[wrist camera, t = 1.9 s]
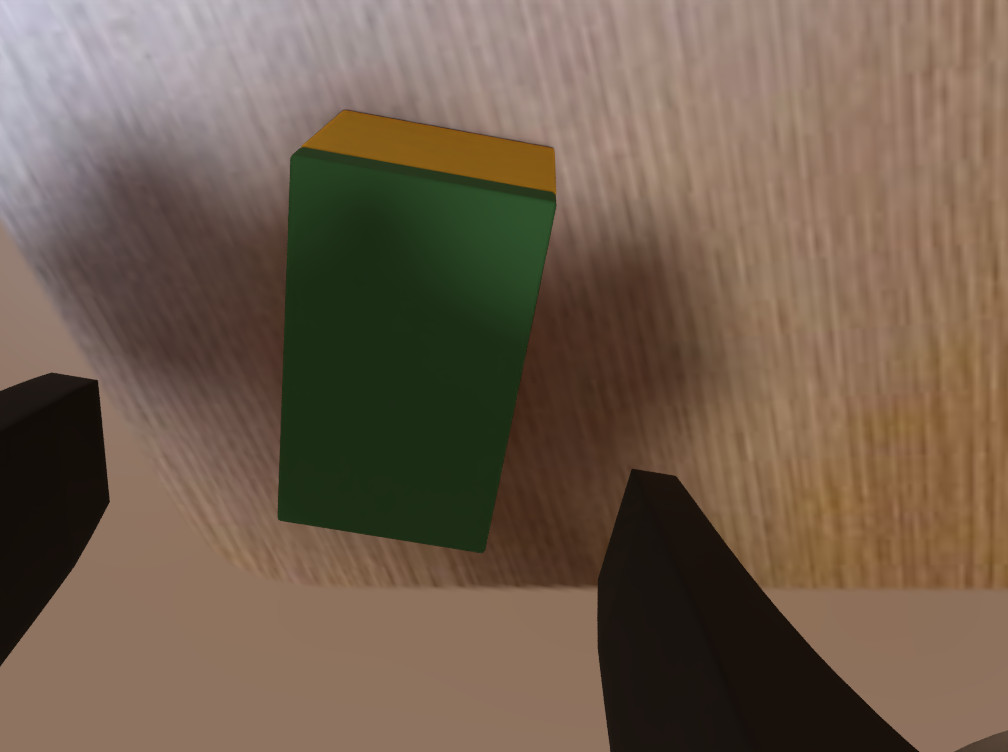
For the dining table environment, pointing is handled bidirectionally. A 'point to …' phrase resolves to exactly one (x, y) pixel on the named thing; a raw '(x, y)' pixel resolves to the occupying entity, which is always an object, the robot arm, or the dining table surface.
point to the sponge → (407, 324)
